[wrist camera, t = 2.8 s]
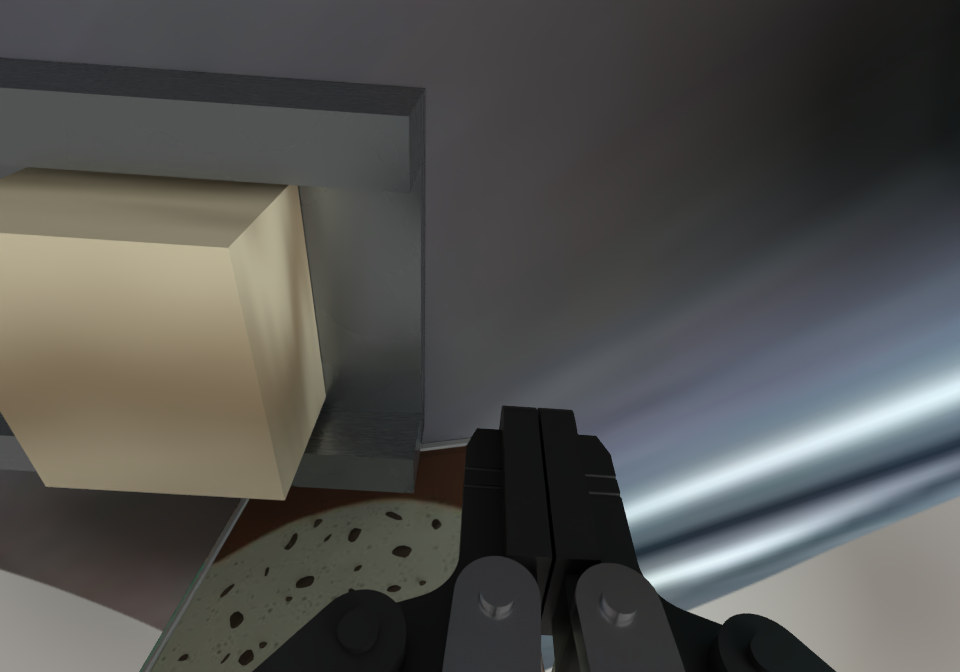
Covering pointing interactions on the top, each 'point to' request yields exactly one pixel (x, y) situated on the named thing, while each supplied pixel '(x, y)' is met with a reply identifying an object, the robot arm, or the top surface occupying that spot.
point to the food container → (313, 563)
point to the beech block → (157, 332)
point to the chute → (324, 208)
